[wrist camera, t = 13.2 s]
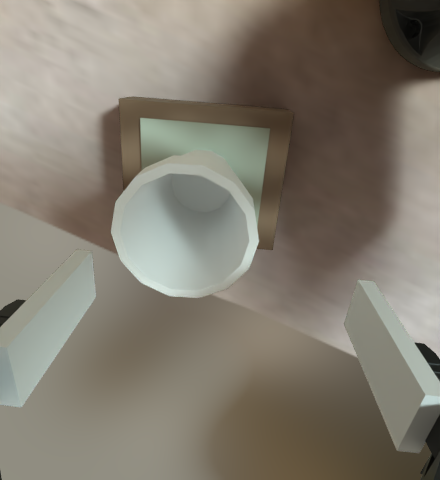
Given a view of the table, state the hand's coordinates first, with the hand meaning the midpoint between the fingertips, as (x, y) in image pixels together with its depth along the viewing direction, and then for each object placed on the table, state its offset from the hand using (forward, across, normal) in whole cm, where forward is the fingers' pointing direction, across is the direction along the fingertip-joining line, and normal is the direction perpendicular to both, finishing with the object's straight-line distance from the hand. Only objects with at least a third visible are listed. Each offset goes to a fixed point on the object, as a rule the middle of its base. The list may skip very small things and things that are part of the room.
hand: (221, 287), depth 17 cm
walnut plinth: (+23, +3, 0) cm, 23 cm away
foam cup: (+18, +3, 0) cm, 19 cm away
